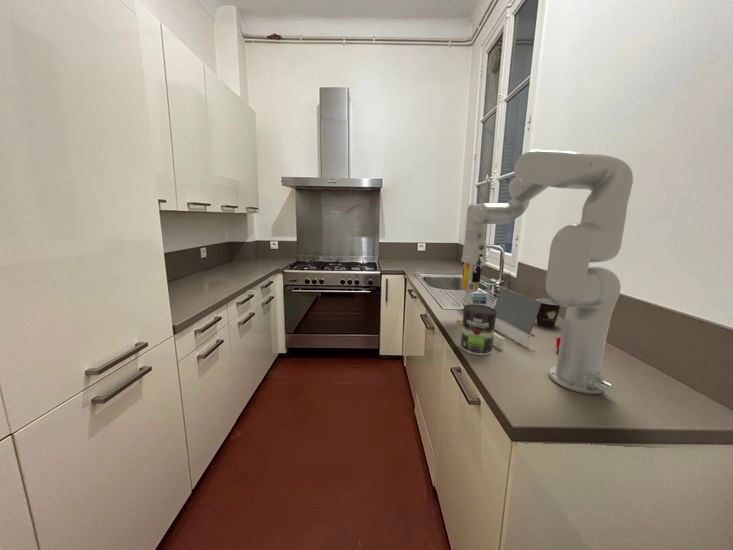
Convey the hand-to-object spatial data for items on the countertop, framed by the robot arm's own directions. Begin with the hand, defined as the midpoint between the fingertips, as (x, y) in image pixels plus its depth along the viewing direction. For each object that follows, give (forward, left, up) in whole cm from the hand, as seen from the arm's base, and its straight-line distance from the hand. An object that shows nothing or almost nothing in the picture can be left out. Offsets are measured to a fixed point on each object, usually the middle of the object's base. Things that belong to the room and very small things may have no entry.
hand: (471, 279), depth 120 cm
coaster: (0, 0, -18) cm, 18 cm away
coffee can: (-23, +11, -19) cm, 32 cm away
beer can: (0, 0, -5) cm, 5 cm away
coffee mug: (-8, -30, -19) cm, 36 cm away
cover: (-16, -8, -8) cm, 20 cm away
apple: (-32, -17, -19) cm, 41 cm away
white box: (-16, -2, -18) cm, 24 cm away
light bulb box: (+11, -11, -19) cm, 24 cm away
